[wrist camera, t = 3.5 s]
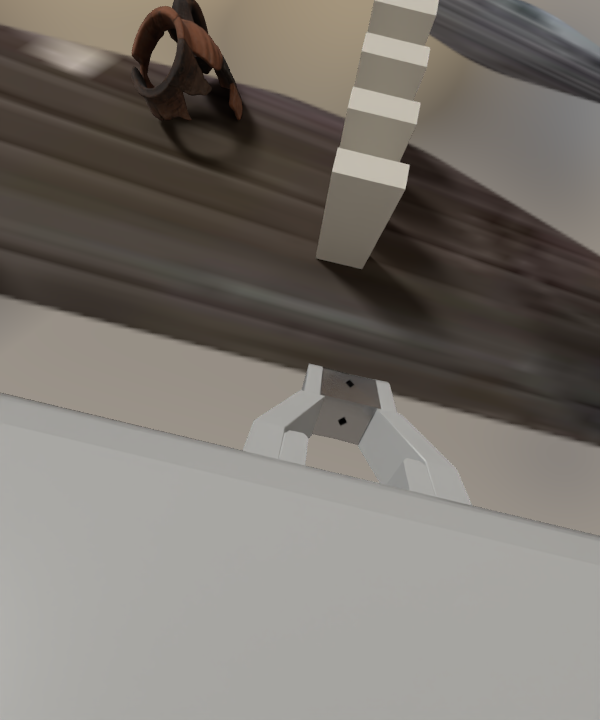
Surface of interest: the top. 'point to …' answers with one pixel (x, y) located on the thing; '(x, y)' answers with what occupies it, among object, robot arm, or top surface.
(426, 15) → the domino
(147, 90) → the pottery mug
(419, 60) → the domino
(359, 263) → the domino
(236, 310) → the top surface
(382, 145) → the domino
